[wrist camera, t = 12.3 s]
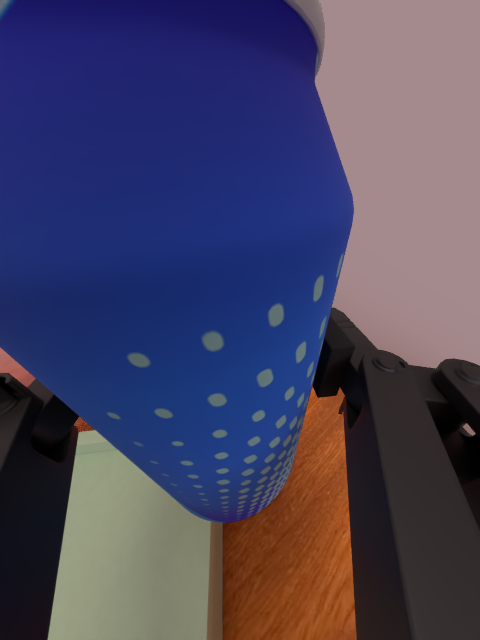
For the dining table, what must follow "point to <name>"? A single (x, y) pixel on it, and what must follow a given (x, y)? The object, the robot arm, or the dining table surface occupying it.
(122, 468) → the shelf
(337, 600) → the dining table surface
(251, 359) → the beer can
